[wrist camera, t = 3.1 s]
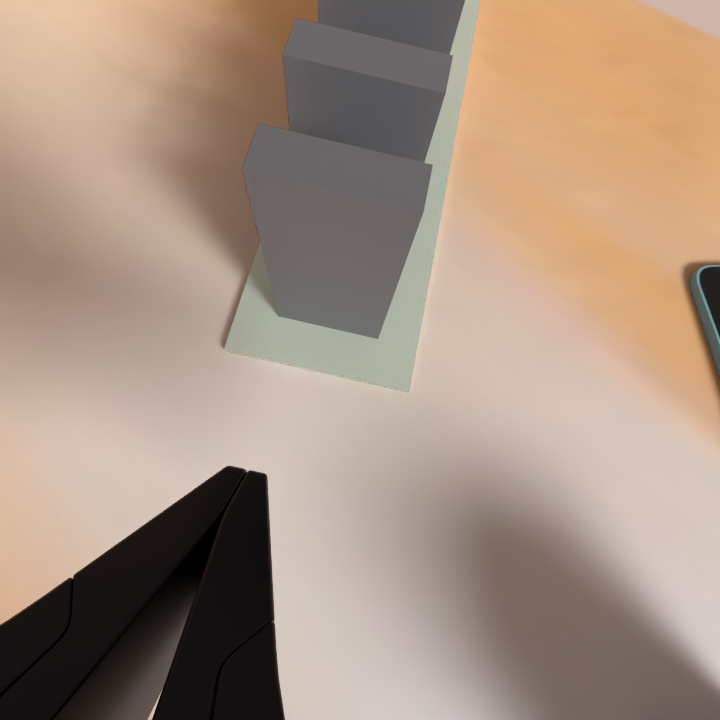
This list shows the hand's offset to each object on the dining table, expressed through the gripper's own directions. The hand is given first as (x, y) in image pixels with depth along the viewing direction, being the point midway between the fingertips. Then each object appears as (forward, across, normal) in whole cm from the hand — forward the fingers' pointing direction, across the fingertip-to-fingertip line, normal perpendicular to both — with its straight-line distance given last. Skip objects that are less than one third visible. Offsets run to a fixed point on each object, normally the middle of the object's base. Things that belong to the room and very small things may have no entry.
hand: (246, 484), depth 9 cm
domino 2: (+16, 0, -2) cm, 16 cm away
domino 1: (+13, 0, +1) cm, 13 cm away
